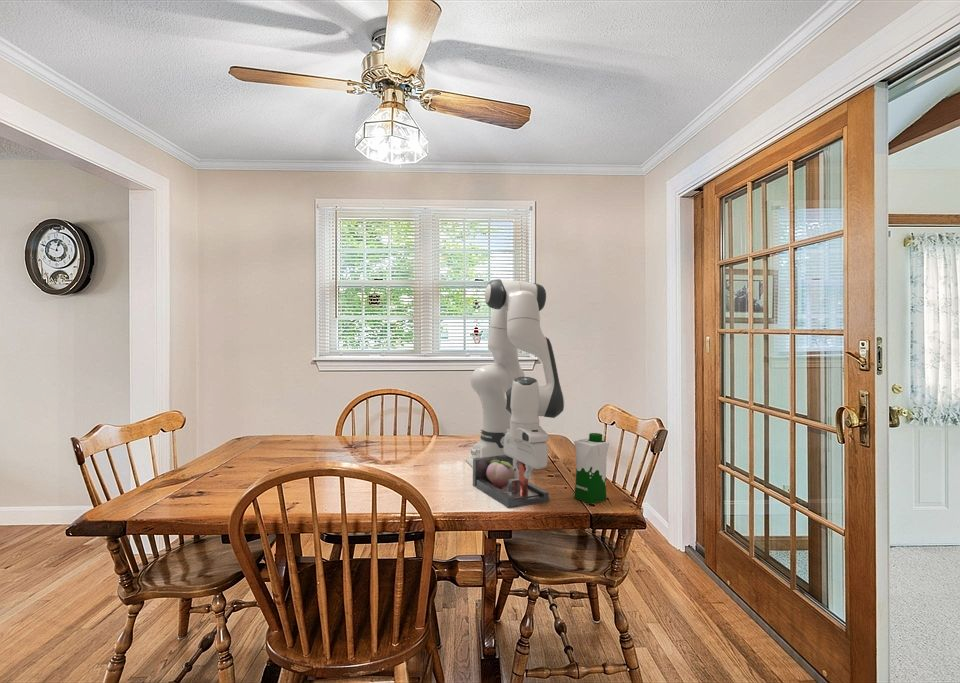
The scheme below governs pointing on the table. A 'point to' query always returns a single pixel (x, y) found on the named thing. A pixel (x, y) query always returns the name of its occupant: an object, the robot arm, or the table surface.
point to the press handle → (520, 485)
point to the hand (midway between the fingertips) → (523, 476)
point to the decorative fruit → (500, 473)
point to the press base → (497, 494)
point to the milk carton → (591, 469)
